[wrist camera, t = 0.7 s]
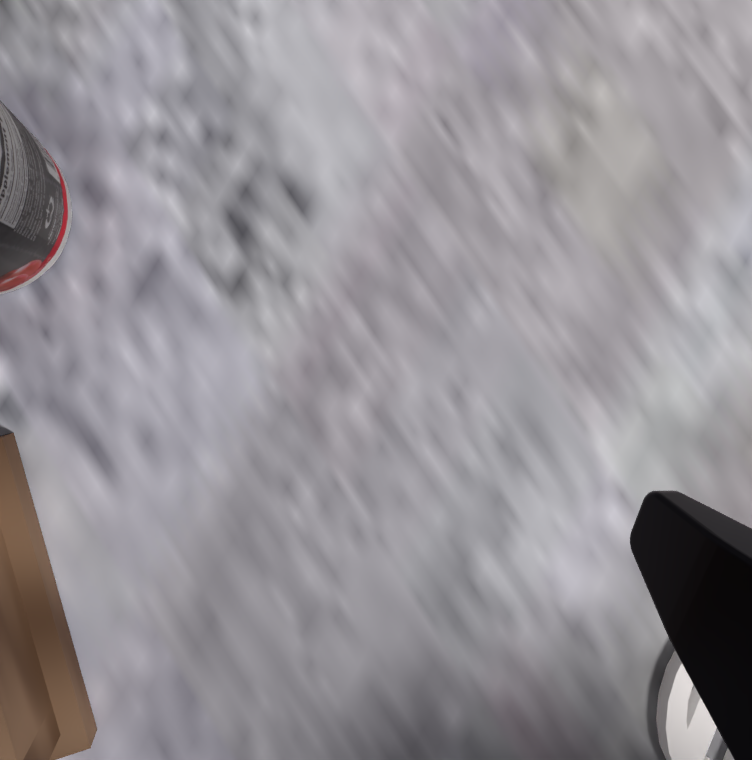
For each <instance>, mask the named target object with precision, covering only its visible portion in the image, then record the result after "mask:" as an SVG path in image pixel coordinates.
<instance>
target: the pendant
mask: <svg viewBox="0 0 752 760" xmlns="http://www.w3.org/2000/svg"><path fill="white" fill-rule="evenodd" d="M692 687H693V683H692V681H691V679H690V677H689V675H688V673H687V672H686V670H685V668H684V666H683V664H682V662H681V661H680V659H679V657H678V655H677V653H676V651H674V653H673V655H672V657H671V659H670V660H669V662H668V664H667V666H666V669H665V673H664V676H663V679H662V683H661V686H660V689H659V693H658V703H657V715H656V722H657V730H658V737H659V744H660V746H661V749H662V751H663V753H664V756H665V758H666V760H710V758H708V757H706V753H707V751H708V748H709V746H710V743H711V741H712V738H713V736H714V733H715V731H716V728H717V727H716V725H715V723H714V721H713V720H712V718H711V716H710V714H709V712H708V710H707V708H706V707H705V705H704V703H703V701H702V699H701V697H700V696H699V694H698V692H697V690H696V688H695V686H694V687H693V689H692ZM691 690H692V692H691ZM690 693H691V694H690ZM723 760H734V758H733V756H732V755H731V753H730V751H729V749H728V748H727V751H726V753H725V756H724V758H723Z"/></svg>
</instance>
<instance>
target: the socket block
mask: <svg viewBox="0 0 752 760" xmlns="http://www.w3.org/2000/svg"><path fill="white" fill-rule="evenodd" d="M96 731H97V727H96V723H95V720H94V716H93V713H92V709H91V706H90V702H89V699H88V695H87V691H86V688H85V684H84V681H83V677H82V674H81V670H80V667H79V663H78V660H77V656H76V652H75V649H74V645H73V642H72V638H71V635H70V631H69V628H68V624H67V621H66V617H65V613H64V610H63V606H62V603H61V599H60V596H59V592H58V589H57V585H56V582H55V578H54V574H53V571H52V567H51V564H50V560H49V557H48V553H47V550H46V546H45V543H44V539H43V535H42V532H41V528H40V525H39V521H38V518H37V514H36V511H35V507H34V504H33V500H32V497H31V493H30V489H29V486H28V482H27V479H26V475H25V472H24V468H23V465H22V461H21V458H20V454H19V450H18V447H17V443H16V440H15V436H14V433H11V434H7V435H2V436H0V760H56V759H59V758H62V757H65V756H68V755H71V754H74V753H77V752H80V751H83V750H86V749H89V748H91V745H92V742H93V739H94V737H95V734H96Z"/></svg>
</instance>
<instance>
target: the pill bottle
mask: <svg viewBox="0 0 752 760" xmlns="http://www.w3.org/2000/svg"><path fill="white" fill-rule="evenodd" d="M71 222H72V206H71V199H70V194H69V189H68V185H67V183H66V180H65V178H64V176H63V174H62V172H61V170H60V168H59V167H58V165H57V164H56V162H55V160H54V159H53V158H52V156H51V155H50V154H49V153H48V151H47V150H46V149H45V148H44V147H43V146H42V145H41V143H40V142H39V141H38V140H37V139H36V138H35V137H34V136H33V135H32V134H31V133H30V132H29V131H28V130H27V129H26V128H25V126H24V125H23V124H22V123H21V122H20V121H19V120H18V119H17V118H16V117H15V116H14V115H13V114H12V113H11V112H10V111H9V110H8V109H7V107H6V106H5V105H4V104H3V103H2V102H1V101H0V294H4V293H8V292H12V291H15V290H17V289H20V288H22V287H24V286H26V285H28V284H30V283H32V282H33V281H35V280H36V279H38V278H39V277H40V276H41V275H43V274H44V273H45V272H46V271H47V270H49V269H50V268H51V266H52V265H53V264H54V263H55V262H56V260H57V259H58V257H59V256H60V254H61V253H62V250H63V248H64V246H65V244H66V242H67V239H68V235H69V232H70V229H71Z"/></svg>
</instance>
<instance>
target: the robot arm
mask: <svg viewBox="0 0 752 760" xmlns="http://www.w3.org/2000/svg"><path fill="white" fill-rule="evenodd" d="M630 545H631V550H632V553H633V555H634V557H635V560H636V562H637V564H638V567H639V569H640V571H641V574H642V576H643V578H644V581H645V583H646V585H647V588H648V590H649V592H650V595H651V597H652V599H653V602H654V604H655V607H656V609H657V611H658V614H659V616H660V618H661V621H662V623H663V625H664V628H665V630H666V632H667V634H668V636H669V639H670V641H671V643H672V645H673V647H674V649H675V651H676V653H677V655H678V657H679V659H680V661H681V662H682V664H683V666H684V668H685V670H686V672H687V673H688V675H689V677H690V679H691V681H692V683H693V685H694V686H695V688H696V690H697V692H698V694H699V696H700V697H701V699H702V701H703V703H704V705H705V707H706V708H707V710H708V712H709V714H710V716H711V718H712V720H713V721H714V723H715V725H716V727H717V729H718V731H719V732H720V734H721V736H722V738H723V740H724V742H725V743H726V745H727V747H728V749H729V751H730V753H731V755H732V756H733V758H734V760H752V529H751V528H749V527H747V526H745V525H743V524H741V523H739V522H737V521H735V520H733V519H732V518H730V517H728V516H726V515H724V514H722V513H720V512H718V511H716V510H714V509H712V508H710V507H708V506H706V505H704V504H702V503H700V502H698V501H696V500H694V499H692V498H690V497H688V496H686V495H684V494H682V493H680V492H677V491H652V492H650V493H648V494H647V495H646V496H645V498H644V500H643V503H642V505H641V508H640V510H639V513H638V516H637V518H636V521H635V524H634V526H633V529H632V531H631V536H630Z"/></svg>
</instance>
